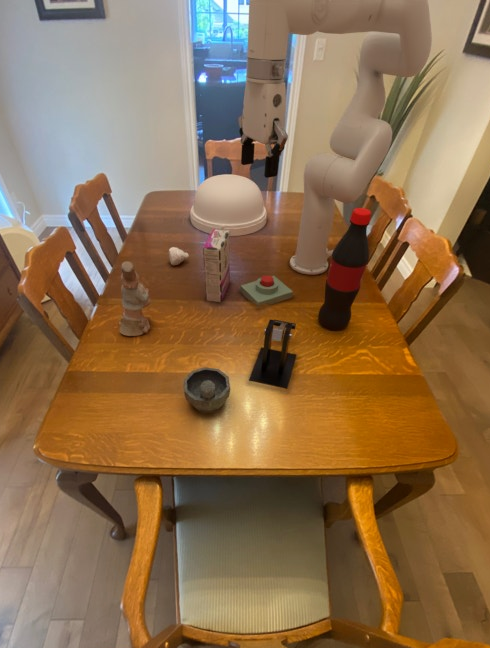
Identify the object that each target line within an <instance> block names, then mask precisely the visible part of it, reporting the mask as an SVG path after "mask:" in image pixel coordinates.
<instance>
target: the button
mask: <svg viewBox="0 0 490 648" xmlns="http://www.w3.org/2000/svg"><path fill="white" fill-rule="evenodd" d="M271 276H272V275H262V276H261V277H260V278H261V285H262V286H264V287H271V286H273V281H274V279H273V277H271Z"/></svg>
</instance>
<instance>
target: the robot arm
mask: <svg viewBox="0 0 490 648" xmlns="http://www.w3.org/2000/svg"><path fill="white" fill-rule="evenodd" d="M247 24H248V27H247V49H246V70H245V71H246V72H245V73H246V75H245V80H246V81H245V86H244V94H243V104H242V114H241V115H240V116H239V117H238V119H237V122H238V127H239V131H238V132H239V135H240V144H241V152H240V153H241V156H240V157H241V158H240V164H241V165H242V166H246V165H247V166H248V165H253V164H254V161H255V145H256V144H255V143H254V141H255V142H258V143H260V144H263V145H264V146H265V150H266V153H267V155H266V156H265V161H264V173H263V175H264V176H263V177H264V178H266V179H268V178H273V177H277V176H278V174H279V173H278V171H279V161H280V157H281V156H282V153H283V151H284V150H285V148H286V147H285V146H286V144H287V141H288V140H289V139H288V138H289V135H288V133H287V131H286V129H285V126H286V113H287V111H286V110H287V88H286V82H284V81H285V73H286V72H285V71H286V63H287V53H288V42H289V35H290V34H291V35H298V36H310V35H313V34H316V33H323V34H331V35H332V34H333V35H346V34H357V33H366V34H365V37H364V38H363V41H362V43H361V47H360V51H359V66H358V67H359V68H358V79H357V86H356V90H355V93H354V95H353V96H352V98H351V100H350V102H349V104H348V105H347V106H346V109H345V110H344V112H343V114H342V115H341V117H340V118H339V120H338V121H337V123H336V125H335V127H334V128H333V131H332V133H331V135H330V138H329V147H330V150H331V151H332V152H333V153H334V154H333V153H330V152H318V153H315V154H313V155H312V156H310V157H309V159H308V160H307V162H306V163H305V166H304V171H303V201H302V210H301V216H300V222H299V229H298V237H297V244H296V249H295V254H294V255H293V256H291V258H290V259H289V266H290V268H291V269H292V270H293V271H295V272H296V273H299V274H301V275H302V274H303V275H306V276H307V275H309V276H314V275H320V274H323V273H325V272H326V271H327V270H328V268H329V261H328V259H329V258H330V257H331V258H332V253H333V250H334V249H331V250H330V249H329V248H328V245H329V240H330V236H331V231H332V226H333V222H334V217H335V212H336V205H335V201H337V202H341V203H342V204H343V203H344V204H352V203H354V202H356V201H357V200H358V199H359V197H360V196H362V193H364V191H365V190H366V188H367V187H368V185H369V183H370V182H371V180H372V179H373V177H374V175H375V174H376V172H377V171H378V169H379V168H380V166H381V165H382V163H383V161H384V160H385V158H386V157H387V154H388V152H389V150H390V147H391V144H392V140H393V128H392V126H391V125H390V123H388V121H385V120H383V119H380V118H379V117H380V116H381V114H382V112H383V109H384V107H385V105H386V88H385V82H384V75H389V76H393V77H394V76H395V77H400V78H401V77H402V78H413V77H415V76H416V75H418V74H419V73H420V72H422V70H423V69H424V68H425V66H426V64H427V62H428V60H429V57H430V54H431V50H432V42H433V38H432V37H433V36H432V24H431V16H430V6H429V0H249V1H248V22H247ZM272 145H273V146H272Z"/></svg>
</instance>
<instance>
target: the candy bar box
mask: <svg viewBox="0 0 490 648" xmlns="http://www.w3.org/2000/svg"><path fill="white" fill-rule="evenodd" d="M202 253H203V267H204V268H203V269H204V283H205V300H206V302H212V303H219V304H222V302H223V300H224V298H225V295H226V293H227V291H228V288H229V286H230V283H231V282H230V278H231V277H230V236H229V231H228V230H220V229H219V230H218V229H213V230H212V232H211V234H209V236H208V237H207V239H206V242H205V243H204V245H203V246H202Z"/></svg>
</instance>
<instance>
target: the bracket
mask: <svg viewBox="0 0 490 648" xmlns="http://www.w3.org/2000/svg"><path fill="white" fill-rule="evenodd" d="M274 320H275V319H269V320H268V323H267V326H266V327H265V328H264V331H263V335H264V341H263V346H261V347H260V349H259V352H258V354H257V358H256V360H255V362H254V365H253V367H252V371H251V374H250V376H249V379H248V381H250V382H254V383H258V384H263V385H268V386H271V387H276V388H281V389H285V390H288V389H289V388H288V387H289V384H290V380H291V377H292V373H293V369H294V366H295V362H296V359H297V355H298V354H297V353H292V352H288V351H289V345H290V341H291V340H292V337H293V332H292V329H291V328H292V323H293V322H290V323H287V327H286V328H285V330H284V335H283V339H282V344H281V350H278V349H272V342H273V340H271V338H272V332H273V328H274V327H275V326H274Z"/></svg>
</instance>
